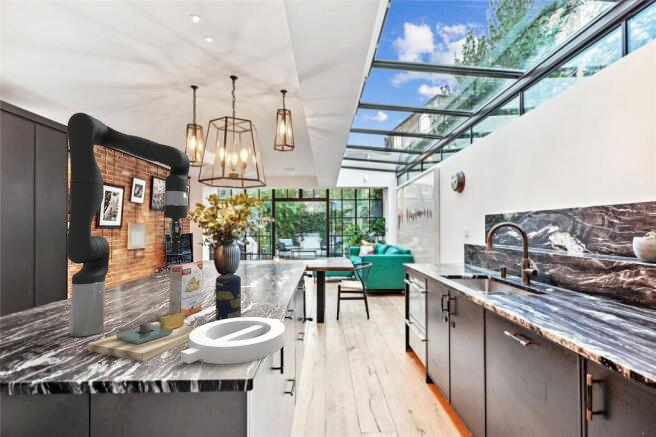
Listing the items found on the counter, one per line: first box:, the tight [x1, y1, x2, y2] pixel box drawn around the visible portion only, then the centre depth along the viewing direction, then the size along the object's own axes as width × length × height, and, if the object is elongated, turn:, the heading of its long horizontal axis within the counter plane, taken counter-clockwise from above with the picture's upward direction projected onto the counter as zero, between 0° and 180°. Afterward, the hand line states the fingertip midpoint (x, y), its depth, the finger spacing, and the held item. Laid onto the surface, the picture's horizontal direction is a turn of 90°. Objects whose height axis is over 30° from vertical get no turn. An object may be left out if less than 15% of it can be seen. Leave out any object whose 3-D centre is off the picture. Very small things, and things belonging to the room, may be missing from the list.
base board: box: [87, 312, 198, 362], centre depth 97 cm, size 22×23×6 cm
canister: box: [215, 273, 242, 321], centre depth 122 cm, size 10×10×18 cm
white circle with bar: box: [180, 316, 286, 365], centre depth 95 cm, size 28×28×5 cm
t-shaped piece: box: [115, 313, 185, 344], centre depth 99 cm, size 18×11×4 cm, turn 151°
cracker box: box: [168, 262, 204, 318], centre depth 130 cm, size 14×6×21 cm, turn 168°
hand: (174, 253), depth 110 cm, fingers closed
